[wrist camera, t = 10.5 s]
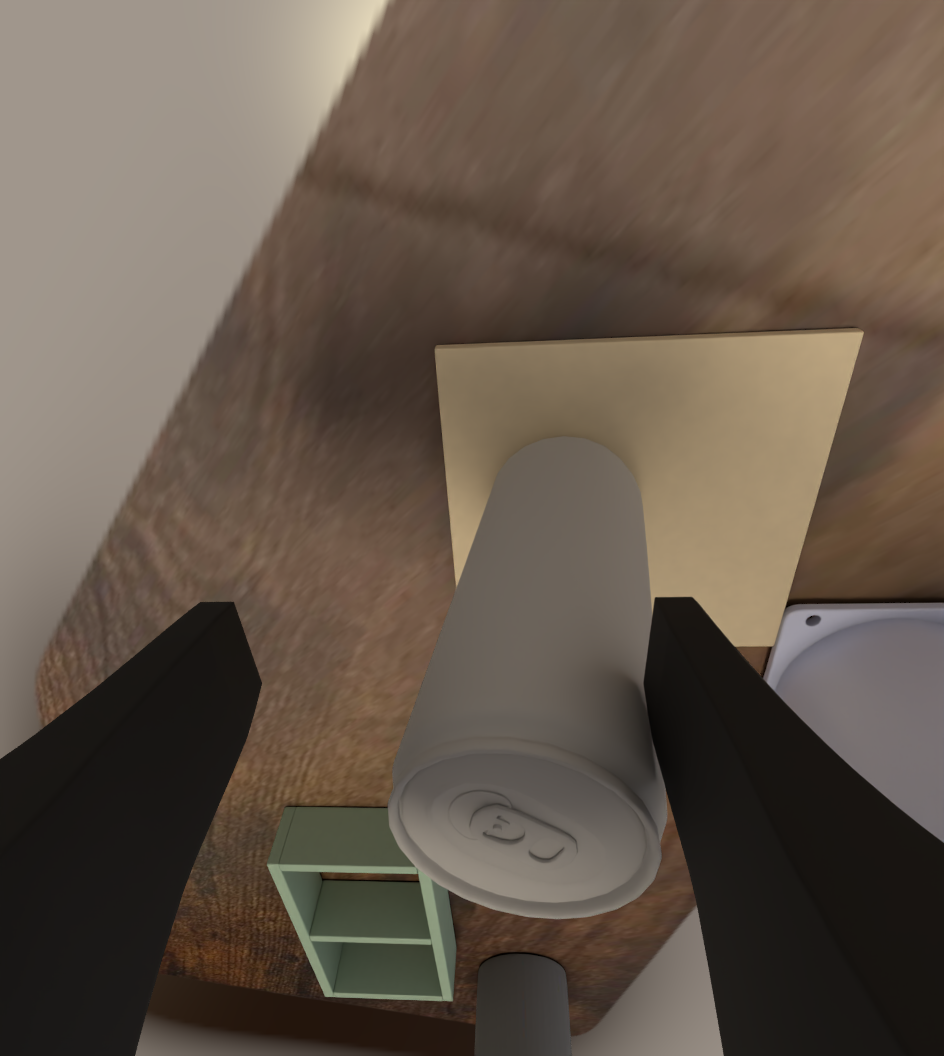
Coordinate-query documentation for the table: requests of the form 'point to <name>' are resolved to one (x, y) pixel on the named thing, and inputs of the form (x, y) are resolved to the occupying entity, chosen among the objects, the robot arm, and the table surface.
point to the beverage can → (540, 700)
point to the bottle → (522, 1007)
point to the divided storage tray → (363, 907)
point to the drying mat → (667, 447)
